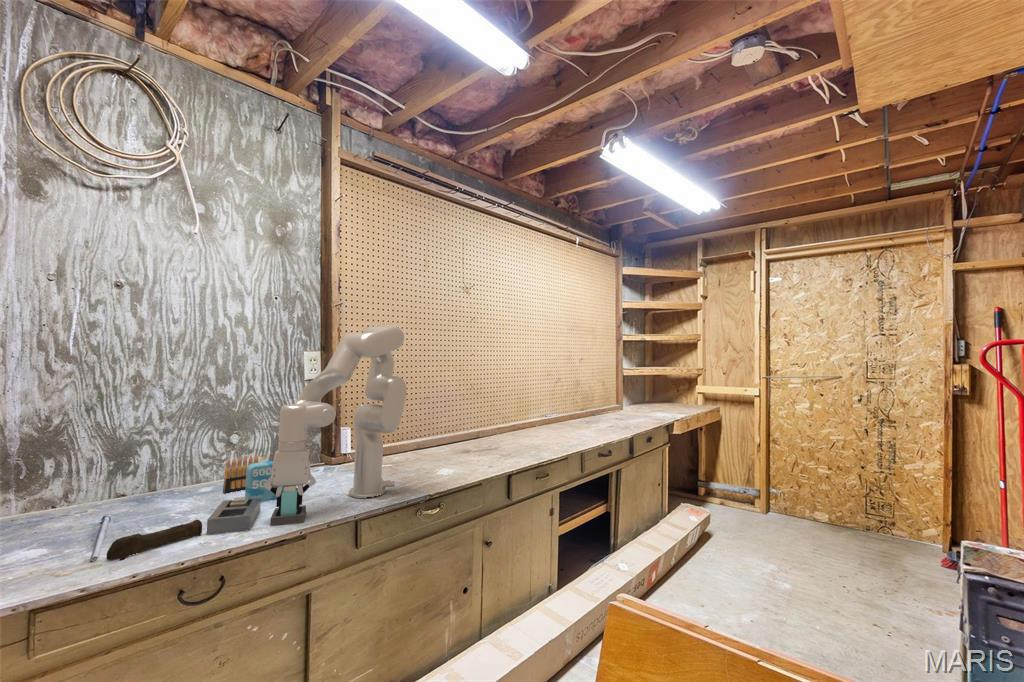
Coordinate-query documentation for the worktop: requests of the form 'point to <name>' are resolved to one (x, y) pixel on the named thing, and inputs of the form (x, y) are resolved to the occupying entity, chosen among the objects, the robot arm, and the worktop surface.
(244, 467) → the ammunition clip
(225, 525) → the port
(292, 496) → the plug
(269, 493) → the data package
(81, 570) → the worktop surface
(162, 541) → the hand tool
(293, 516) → the dark square frame
